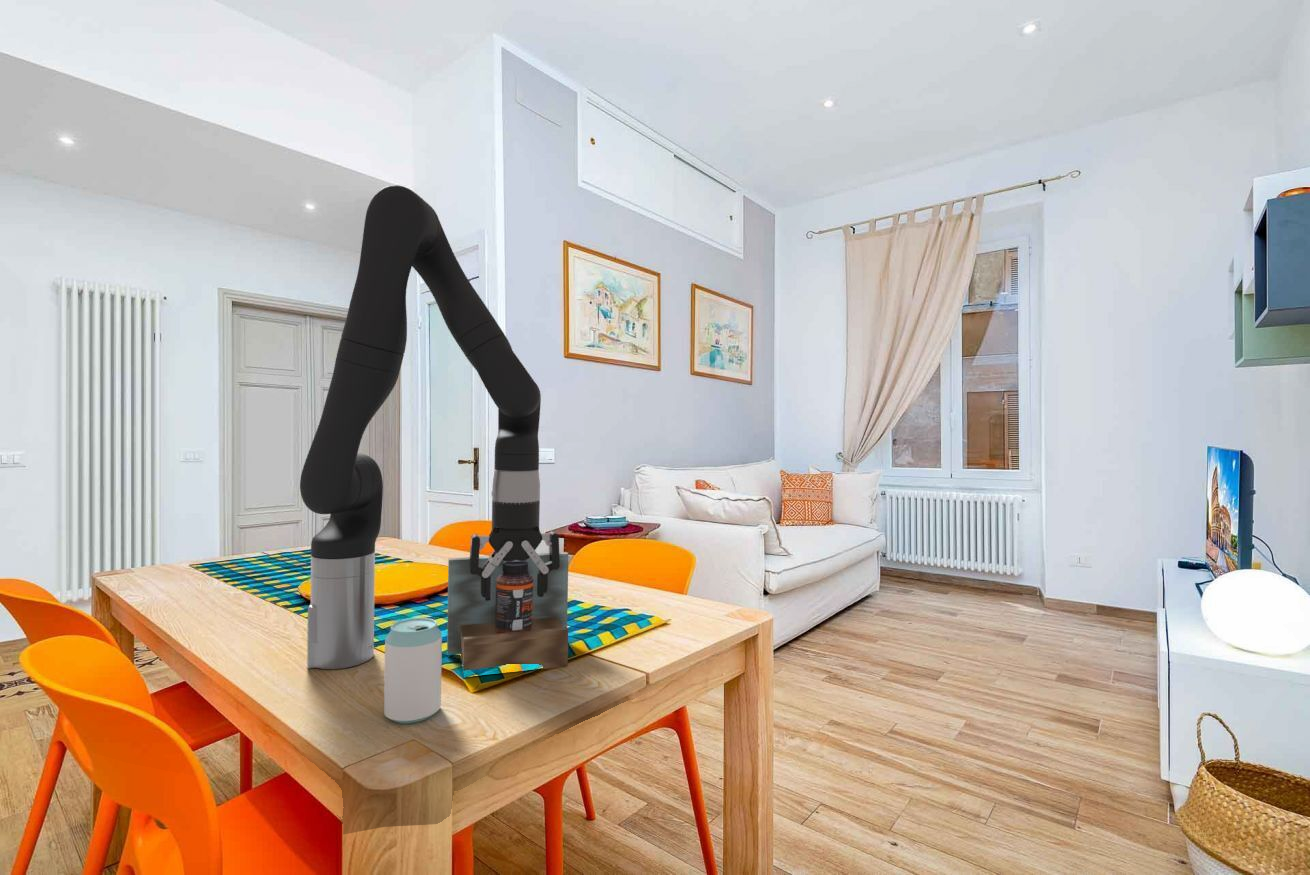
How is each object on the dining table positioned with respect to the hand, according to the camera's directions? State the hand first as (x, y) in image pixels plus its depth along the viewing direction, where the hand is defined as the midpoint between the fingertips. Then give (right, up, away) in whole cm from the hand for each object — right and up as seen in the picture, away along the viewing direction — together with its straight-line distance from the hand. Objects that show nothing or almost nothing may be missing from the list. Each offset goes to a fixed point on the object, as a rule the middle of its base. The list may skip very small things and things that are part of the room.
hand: (514, 597), depth 101 cm
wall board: (-1, -11, +1) cm, 11 cm away
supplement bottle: (0, -6, 0) cm, 6 cm away
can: (-9, -11, -18) cm, 23 cm away
